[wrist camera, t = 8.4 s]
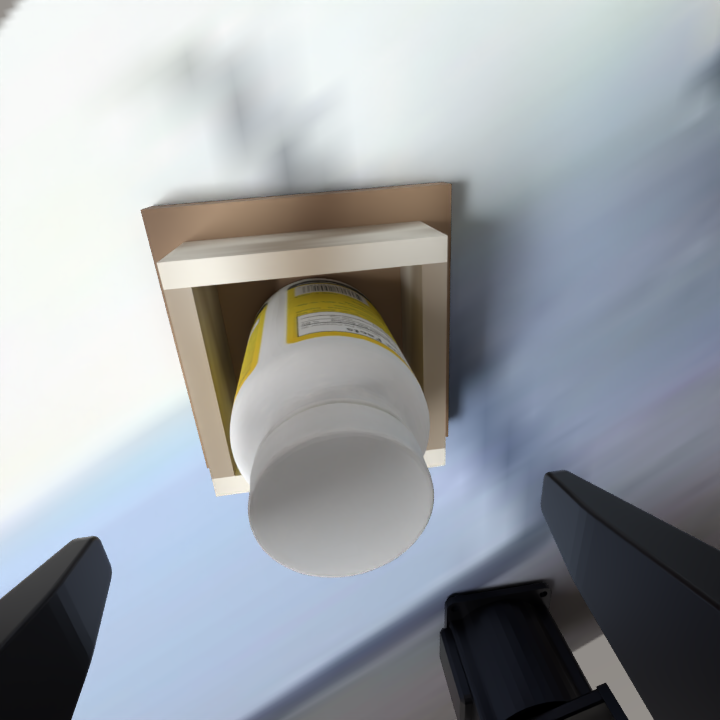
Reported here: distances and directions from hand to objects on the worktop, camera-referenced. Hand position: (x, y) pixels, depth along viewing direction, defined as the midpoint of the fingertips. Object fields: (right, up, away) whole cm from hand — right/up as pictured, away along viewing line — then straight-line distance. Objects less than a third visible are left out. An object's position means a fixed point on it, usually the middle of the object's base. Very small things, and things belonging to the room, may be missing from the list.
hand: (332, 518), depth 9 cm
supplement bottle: (-1, +4, +9) cm, 10 cm away
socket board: (-1, +4, +10) cm, 11 cm away
